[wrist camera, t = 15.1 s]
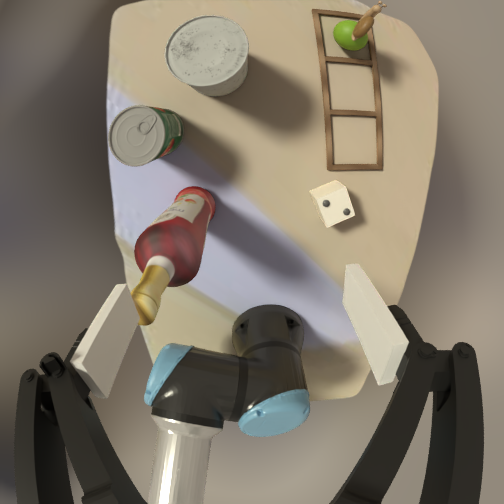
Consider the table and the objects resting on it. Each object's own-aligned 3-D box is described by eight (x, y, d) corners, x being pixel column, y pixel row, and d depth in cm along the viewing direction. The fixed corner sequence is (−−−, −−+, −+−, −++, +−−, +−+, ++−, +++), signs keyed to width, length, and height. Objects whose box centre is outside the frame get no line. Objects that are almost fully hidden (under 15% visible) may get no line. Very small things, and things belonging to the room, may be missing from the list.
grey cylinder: (219, 31, 32) (210, 2, 21) (260, 70, 35) (266, 50, 24) (173, 70, 34) (148, 53, 23) (214, 108, 38) (201, 102, 27)
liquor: (206, 176, 43) (152, 258, 18) (224, 215, 46) (201, 335, 21) (167, 193, 44) (82, 288, 19) (185, 231, 47) (131, 351, 22)
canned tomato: (159, 165, 42) (135, 179, 32) (129, 133, 39) (97, 139, 29) (194, 131, 39) (178, 134, 30) (162, 98, 37) (136, 92, 27)
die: (345, 205, 45) (355, 215, 41) (319, 216, 46) (327, 228, 41) (335, 179, 43) (346, 186, 39) (308, 191, 44) (316, 199, 39)
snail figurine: (366, 33, 31) (400, 14, 20) (353, 59, 34) (386, 43, 23) (338, 16, 30) (366, -10, 19) (324, 42, 33) (349, 19, 22)
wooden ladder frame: (380, 168, 42) (382, 169, 42) (327, 169, 42) (328, 170, 42) (367, 17, 30) (369, 16, 29) (311, 10, 30) (312, 8, 29)
